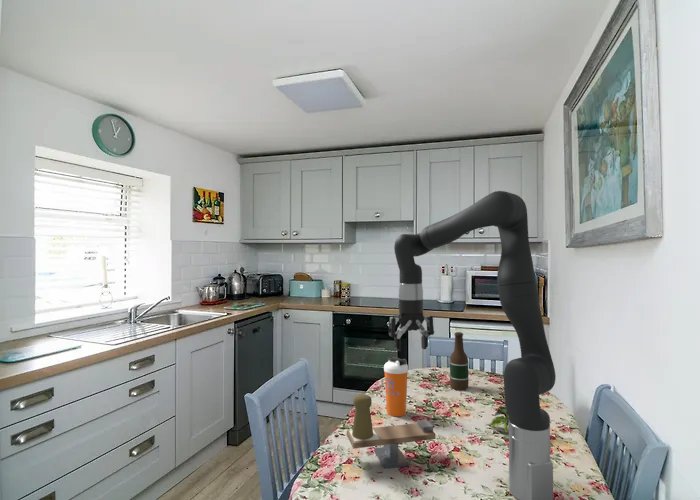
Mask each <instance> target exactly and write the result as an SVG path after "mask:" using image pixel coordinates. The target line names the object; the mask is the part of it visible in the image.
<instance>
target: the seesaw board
mask: <svg viewBox="0 0 700 500" xmlns="http://www.w3.org/2000/svg"><path fill="white" fill-rule="evenodd" d="M372 428H373V436H372V437H371V438H369V439H357V438H355V437H353V436H352V431H353V429H350V430H346V437H347V439H348V441H349V443H350V445H351V447H352V449H364V448H371V447H381V446H384V445H389V444H398V445H399V444H405V443H414V442H421V441H423V442H424V441H431V440H436V433H435V432H434V425H433V424H432V423H431V422H430V421H429V420H428V419H418V420H417V419H416V422H415V423H413V422H412V423H407V424H405V423H404V424H395V425H387V426H378V427H377V426H376V427H372Z"/></svg>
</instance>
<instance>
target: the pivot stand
mask: <svg viewBox="0 0 700 500" xmlns="http://www.w3.org/2000/svg"><path fill="white" fill-rule="evenodd" d="M373 451H374V454H375V455H376V457H377V459H378V460H379V462H380V463H381V465H382V466H383V469H384V470H385V469H393V468H401V467H402V468H403V467H409V465H410V464H409V461H408V459H407V458H406V456H405V455H404V454H403V452H402V451H401V450H400V448H399V443H398V444H389V445H383V446H382V447H381V446H378V447H374V449H373Z"/></svg>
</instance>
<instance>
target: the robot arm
mask: <svg viewBox="0 0 700 500" xmlns="http://www.w3.org/2000/svg"><path fill="white" fill-rule="evenodd" d="M528 220H529V219H528V208H527V205H526V202H525V201H524V200H523V198H522V197H521V196H519V195H518V194H516V193H512V192H509V191H505V190H498V191H497V190H496V191H493V192H491V193H489V194H487V195H486V196H484V197H482V198H480V199H479V200H477V201H476V202H474V203H473V204H471V205H469V206H468V207H467V208H465V209H463V210H461V211H459V212H457V213H456V214H454V215H451V216H449V217H447V218H444V219H442V220H440V221H436V222H435V223H432V224H430V225H427V226H425V227H424V228H423V229H421V231H420V232H419V233H415V234H410V233H404V234H400V235H398V236H397V237H396V239H395V241H394V247H393V248H394V254H395V259H396V262H397V267H398V269H399V286H398V313H399V315H398V316H397V317H395V316H394V317H393V316H390V317H389V319H388V335H389V336H390V337H392V338H394V348H395V350H396V351H397V352H401V351H402V340H401V337H402V336H403V334H405V333H406V331H407V332H410V331H418V332H419V333H420V334H421V335H422V336H421V349H422V350H427V348H428V346H429V337H430V336H433V335H434V333H435V331H434V328H435V327H434V318H433V317H434V316H432V315H430V314H427V315H424V288H423V270H422V267H421V265H420V264H417V263H416V262H415V257H420V256H423V255H425V254H428V253H429V252H431V251H432V250H434V249H437V248H439V247H444V246H445V245H448V244H451V243H453V242H455V241H457V240H458V239H460V238H461V237H463V236H464V235H465V234H467V233H469V232H472V231H475V230H477V229H483V228H487V227H492V226H493V227H497V230H498V233H499V239H500V245H501V246H500V247H501V251H500V252H501V254H500V259H499V263H498V268H497V269H498V270H497V275H496V282H497V284H496V285H497V290H498V296H499V297H498V298H499V302H500V305H501V308H502V310H503V312H504V314H505V315H506V317H507V319H508V320H509V322H510V323H511V325H512V327H513V328H514V331H515V332H516V335H517V337H518V341H519V349H520V356H521V357H517V358H515V359H514V358H513V359H511V360H510V361H508V362H507V364H506V365H505V368H504V371H503V390H504V406H506V409H507V412H508V415H509V425H508V477H509V478H508V481H509V486H508V488H509V489H508V490H509V492H510V494H511V495H512V496H513V497H514V498H516V499H517V500H554V463H553V461H551V445H550V444H551V420H550V414H549V412H547V411H546V410H545V409H543V408H541V403H540V402H541V401H540V395H543V394H545V393H547V392H550V391H551V390H552V389H553V387H554V386H555V384H556V370H555V365H554V361H553V359H552V355H551V351H550V347H549V343H548V341H547V337H546V332H545V325H544V320H543V315H542V310H541V303H540V295H539V290H538V289H539V288H538V284H537V278H536V275H535V269H534V263H533V258H532V257H533V256H532V251H531V247H530V241H529V225H528V224H529V221H528ZM424 322H425V323H426V328H425V327H424V326H423V323H424ZM398 323H399V326H398V327H397V330H396V325H397V324H398Z"/></svg>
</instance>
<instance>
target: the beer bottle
mask: <svg viewBox="0 0 700 500" xmlns="http://www.w3.org/2000/svg"><path fill="white" fill-rule="evenodd" d="M453 334H454V348H453V352H452V353H450V357H449V385H450V386H449V387H450V388H452V390H456V391H466V390H467V389H469V358H468V355H467V353H466V352H465V351H464V350H465V349H464V338H463V336H464V333H463V332H461V331H457V332H454V333H453Z"/></svg>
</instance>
